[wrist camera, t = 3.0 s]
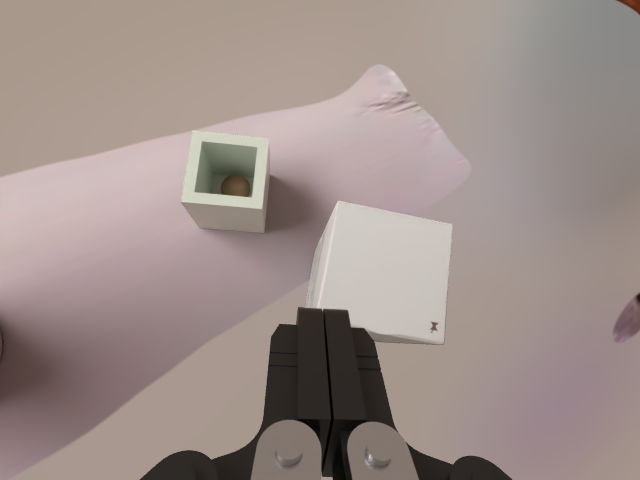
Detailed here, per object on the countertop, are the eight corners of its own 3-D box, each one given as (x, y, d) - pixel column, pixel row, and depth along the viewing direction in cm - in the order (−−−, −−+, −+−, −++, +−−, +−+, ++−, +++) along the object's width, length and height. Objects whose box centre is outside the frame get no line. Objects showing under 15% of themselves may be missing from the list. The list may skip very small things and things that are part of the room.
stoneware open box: (264, 233, 39) (262, 208, 32) (199, 227, 39) (180, 201, 31) (270, 174, 41) (269, 138, 34) (207, 168, 41) (192, 130, 33)
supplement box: (393, 262, 40) (459, 222, 26) (382, 343, 38) (449, 349, 24) (314, 245, 40) (337, 195, 25) (298, 327, 37) (314, 323, 23)
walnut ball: (247, 210, 39) (250, 194, 36) (218, 206, 38) (219, 189, 35) (250, 188, 40) (253, 171, 38) (222, 183, 39) (223, 166, 37)
